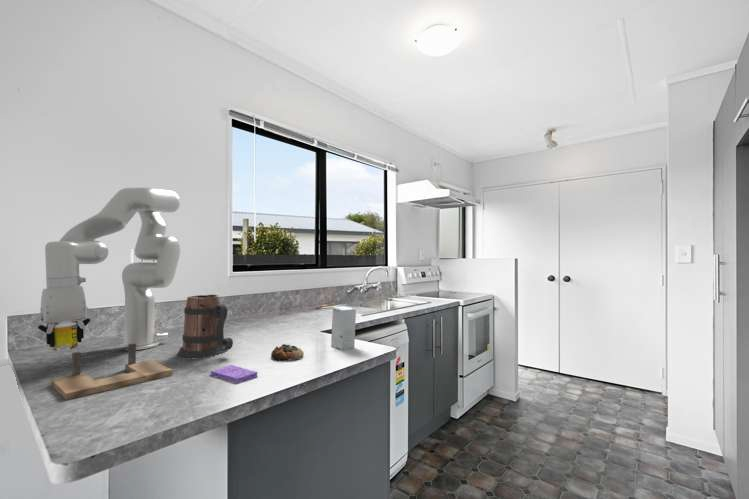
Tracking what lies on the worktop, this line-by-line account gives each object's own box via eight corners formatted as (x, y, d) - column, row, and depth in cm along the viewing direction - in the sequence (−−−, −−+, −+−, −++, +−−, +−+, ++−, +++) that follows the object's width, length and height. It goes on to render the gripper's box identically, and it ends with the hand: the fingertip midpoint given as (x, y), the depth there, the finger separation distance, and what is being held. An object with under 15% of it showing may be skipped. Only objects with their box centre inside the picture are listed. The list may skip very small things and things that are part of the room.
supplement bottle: (74, 351, 108) (73, 317, 108) (50, 354, 106) (49, 318, 105) (80, 346, 113) (79, 313, 113) (57, 348, 111) (55, 315, 110)
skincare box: (330, 345, 141) (330, 306, 141) (344, 343, 144) (344, 305, 145) (342, 350, 134) (342, 309, 134) (356, 348, 138) (356, 308, 138)
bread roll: (263, 359, 123) (265, 343, 123) (283, 355, 133) (285, 341, 133) (291, 364, 118) (293, 348, 119) (310, 360, 128) (311, 345, 129)
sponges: (236, 385, 99) (236, 378, 99) (209, 376, 106) (210, 370, 106) (258, 378, 105) (258, 371, 105) (231, 370, 112) (231, 364, 112)
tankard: (165, 354, 129) (166, 296, 129) (209, 344, 143) (209, 292, 143) (207, 364, 116) (207, 301, 117) (250, 352, 131) (250, 296, 131)
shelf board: (149, 363, 117) (150, 340, 117) (172, 374, 106) (172, 348, 106) (50, 384, 98) (50, 355, 98) (65, 399, 88) (66, 368, 88)
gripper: (95, 279, 118) (97, 335, 118) (21, 285, 104) (23, 348, 105) (102, 281, 113) (104, 339, 114) (25, 287, 100) (28, 353, 100)
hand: (65, 343), depth 109 cm, fingers closed on supplement bottle, 5 cm apart
